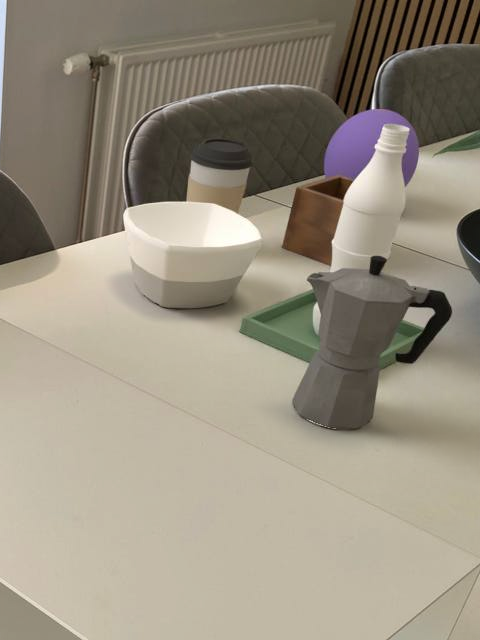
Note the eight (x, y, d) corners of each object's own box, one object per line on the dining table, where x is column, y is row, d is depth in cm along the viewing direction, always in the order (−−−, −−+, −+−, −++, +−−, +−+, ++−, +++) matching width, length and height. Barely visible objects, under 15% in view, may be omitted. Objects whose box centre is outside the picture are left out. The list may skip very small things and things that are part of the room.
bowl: (97, 271, 143) (106, 203, 137) (207, 263, 148) (220, 197, 142) (148, 323, 131) (160, 251, 125) (266, 313, 136) (283, 243, 129)
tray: (427, 345, 131) (432, 330, 129) (354, 382, 121) (359, 367, 120) (314, 300, 140) (318, 286, 139) (239, 331, 131) (242, 317, 129)
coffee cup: (187, 258, 149) (206, 151, 139) (167, 236, 156) (184, 132, 146) (243, 257, 151) (266, 151, 141) (221, 235, 157) (242, 132, 147)
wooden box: (385, 254, 155) (404, 194, 149) (345, 271, 149) (363, 209, 143) (322, 232, 161) (338, 173, 155) (281, 247, 155) (296, 186, 149)
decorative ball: (411, 203, 175) (441, 110, 165) (389, 227, 165) (419, 129, 155) (328, 185, 180) (353, 93, 170) (302, 206, 170) (326, 110, 160)
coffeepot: (268, 416, 114) (310, 259, 102) (280, 381, 120) (321, 230, 108) (406, 447, 110) (466, 289, 98) (411, 410, 117) (468, 257, 105)
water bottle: (299, 335, 130) (355, 127, 113) (318, 317, 134) (376, 115, 117) (352, 351, 127) (418, 140, 110) (370, 333, 131) (436, 128, 115)
